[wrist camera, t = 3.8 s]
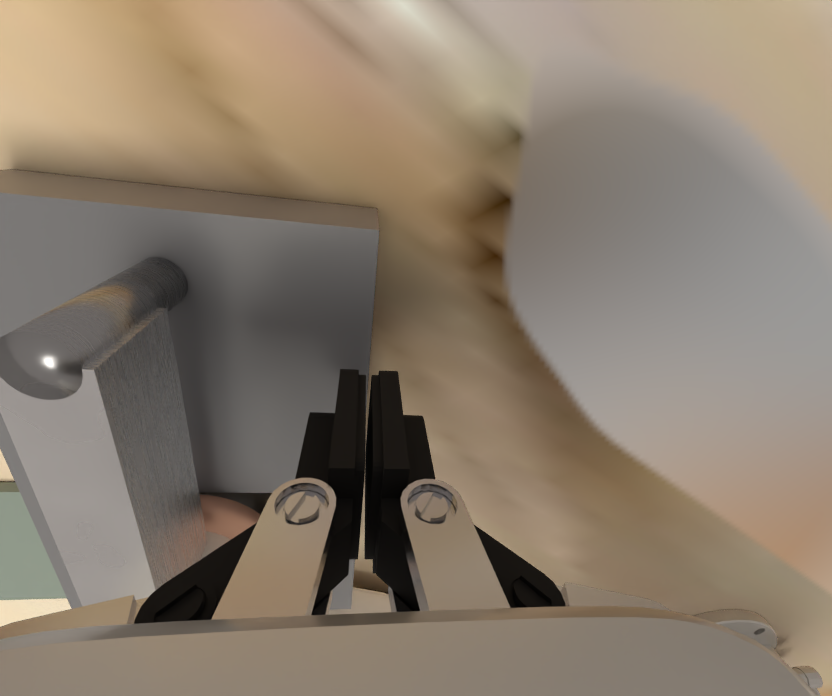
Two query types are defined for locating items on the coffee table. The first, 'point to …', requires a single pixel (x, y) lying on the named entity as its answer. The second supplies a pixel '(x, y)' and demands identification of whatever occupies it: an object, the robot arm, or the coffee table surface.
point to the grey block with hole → (206, 310)
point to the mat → (23, 552)
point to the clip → (108, 432)
